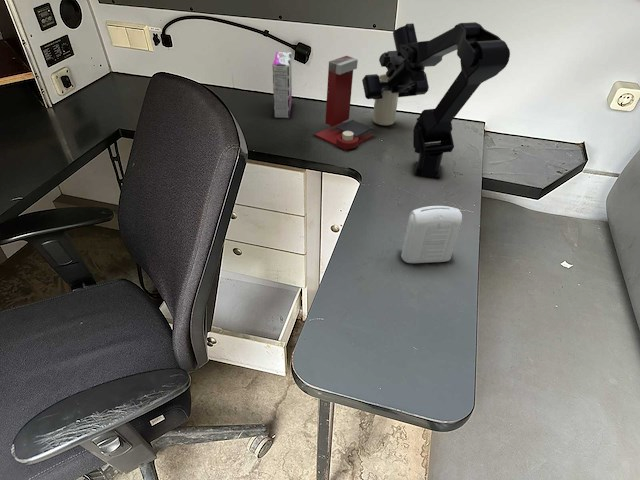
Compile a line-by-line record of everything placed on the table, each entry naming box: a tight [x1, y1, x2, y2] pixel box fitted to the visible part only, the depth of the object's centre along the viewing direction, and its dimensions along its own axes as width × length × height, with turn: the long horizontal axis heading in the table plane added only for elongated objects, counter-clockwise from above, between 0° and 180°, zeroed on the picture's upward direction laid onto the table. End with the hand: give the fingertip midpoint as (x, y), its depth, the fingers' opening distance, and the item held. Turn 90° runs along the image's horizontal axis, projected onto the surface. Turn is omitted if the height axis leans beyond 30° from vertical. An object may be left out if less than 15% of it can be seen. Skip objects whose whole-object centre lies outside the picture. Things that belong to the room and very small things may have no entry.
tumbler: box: [372, 73, 399, 126], centre depth 140 cm, size 7×7×13 cm
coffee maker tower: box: [325, 55, 373, 137], centre depth 130 cm, size 12×7×18 cm, turn 48°
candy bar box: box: [272, 51, 293, 119], centre depth 143 cm, size 11×5×16 cm, turn 179°
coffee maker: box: [314, 122, 374, 152], centre depth 135 cm, size 13×13×2 cm
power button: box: [342, 131, 353, 141], centre depth 130 cm, size 3×3×2 cm
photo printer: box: [400, 205, 463, 264], centre depth 93 cm, size 10×4×12 cm, turn 98°
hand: (384, 96), depth 140 cm, fingers closed on tumbler, 7 cm apart
